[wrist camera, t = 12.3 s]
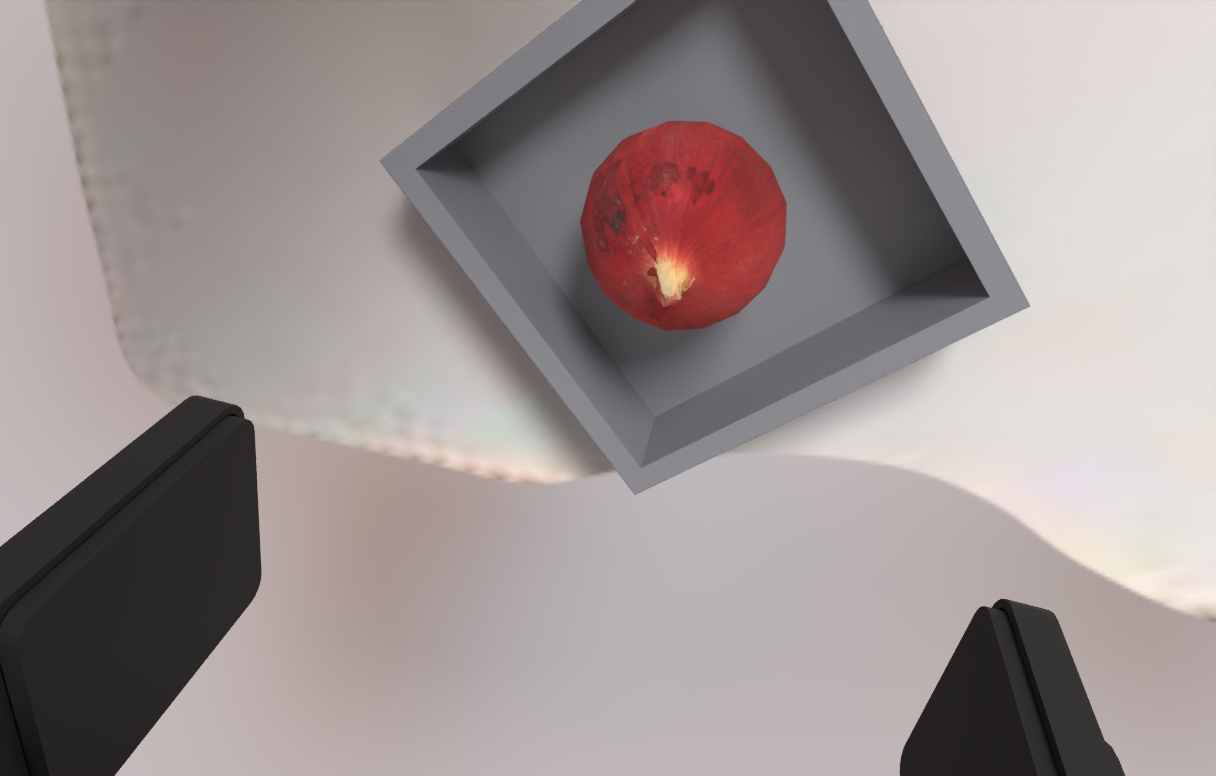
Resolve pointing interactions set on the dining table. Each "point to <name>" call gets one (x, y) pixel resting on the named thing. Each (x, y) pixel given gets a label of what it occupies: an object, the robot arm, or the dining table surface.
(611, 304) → the tray
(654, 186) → the onion
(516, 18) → the dining table surface
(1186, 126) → the dining table surface
